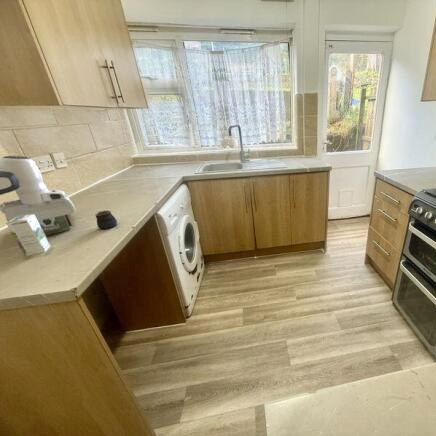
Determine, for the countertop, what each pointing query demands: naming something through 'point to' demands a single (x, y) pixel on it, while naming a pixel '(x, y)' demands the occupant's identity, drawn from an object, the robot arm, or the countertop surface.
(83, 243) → the countertop surface
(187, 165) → the countertop surface
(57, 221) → the drawer
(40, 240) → the syrup box
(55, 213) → the robot arm
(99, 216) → the mate gourd
